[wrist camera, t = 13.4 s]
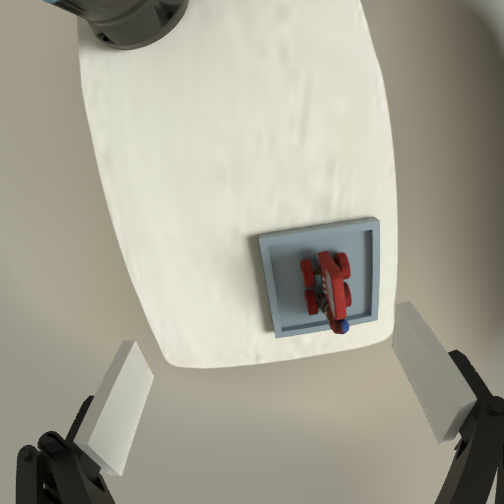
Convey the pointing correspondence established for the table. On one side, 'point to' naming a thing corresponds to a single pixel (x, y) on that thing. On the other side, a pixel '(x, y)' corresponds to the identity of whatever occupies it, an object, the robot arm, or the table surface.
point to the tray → (291, 280)
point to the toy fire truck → (329, 289)
